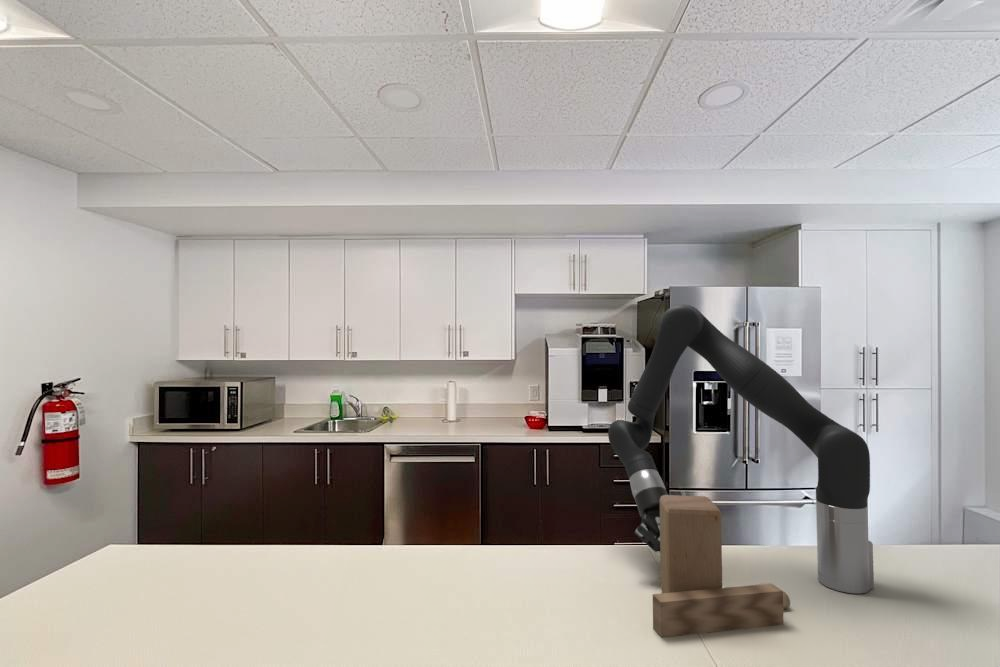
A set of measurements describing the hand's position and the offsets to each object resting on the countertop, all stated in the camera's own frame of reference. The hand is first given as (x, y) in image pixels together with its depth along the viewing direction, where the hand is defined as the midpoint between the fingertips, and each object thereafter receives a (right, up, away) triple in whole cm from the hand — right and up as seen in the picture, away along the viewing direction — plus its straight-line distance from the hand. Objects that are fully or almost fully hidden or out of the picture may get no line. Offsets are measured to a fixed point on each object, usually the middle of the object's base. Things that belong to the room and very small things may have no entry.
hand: (677, 569), depth 108 cm
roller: (+14, -3, -9) cm, 17 cm away
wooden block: (+1, -4, -6) cm, 7 cm away
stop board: (+3, -4, -14) cm, 15 cm away
